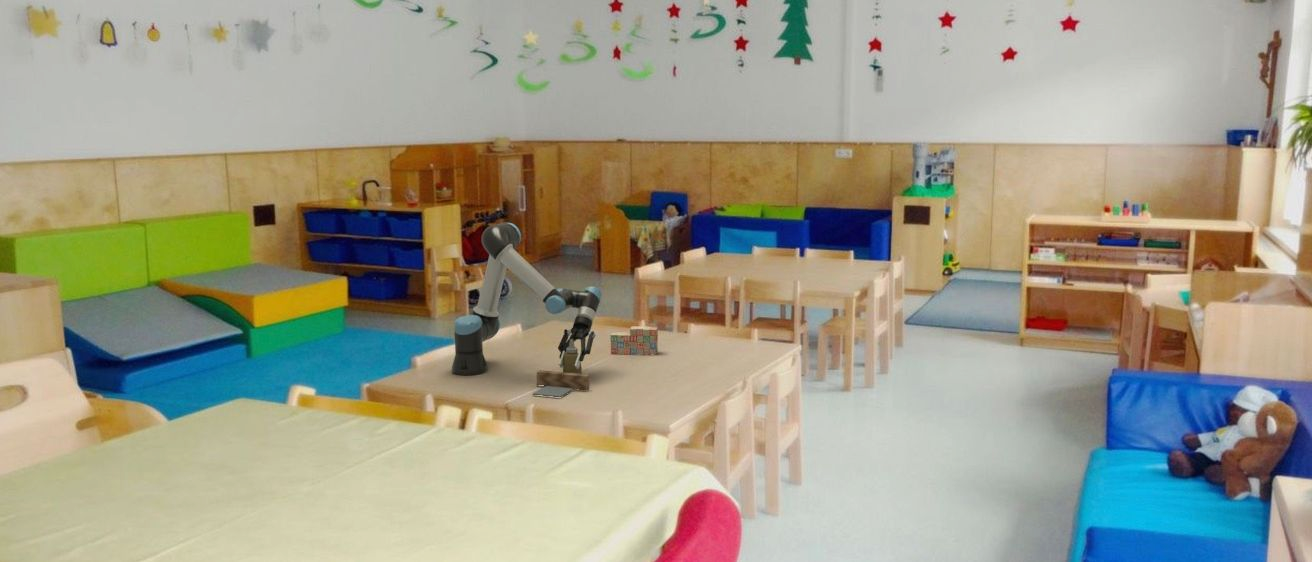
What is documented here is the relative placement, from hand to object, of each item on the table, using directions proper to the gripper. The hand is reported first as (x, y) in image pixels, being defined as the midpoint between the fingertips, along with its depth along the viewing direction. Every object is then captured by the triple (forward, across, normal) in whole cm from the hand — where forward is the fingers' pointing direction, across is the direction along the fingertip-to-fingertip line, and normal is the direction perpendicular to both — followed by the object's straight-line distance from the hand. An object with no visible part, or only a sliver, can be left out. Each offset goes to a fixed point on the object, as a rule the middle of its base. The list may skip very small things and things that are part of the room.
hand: (568, 366), depth 398 cm
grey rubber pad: (+15, 0, +5) cm, 16 cm away
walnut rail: (+9, 0, -1) cm, 9 cm away
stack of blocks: (-36, -5, -48) cm, 60 cm away
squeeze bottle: (+3, 0, -8) cm, 8 cm away
